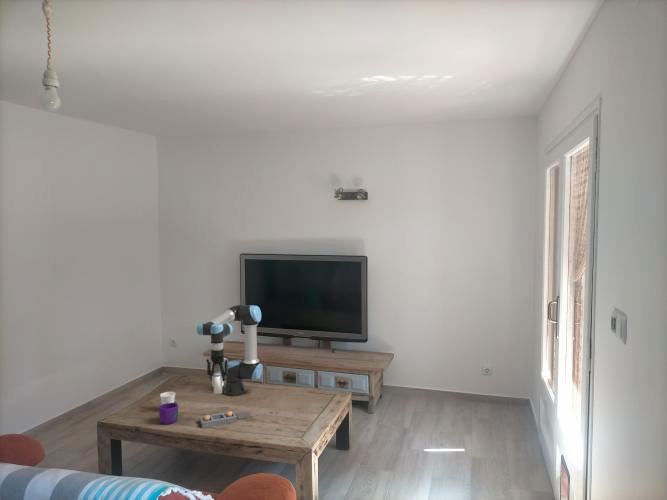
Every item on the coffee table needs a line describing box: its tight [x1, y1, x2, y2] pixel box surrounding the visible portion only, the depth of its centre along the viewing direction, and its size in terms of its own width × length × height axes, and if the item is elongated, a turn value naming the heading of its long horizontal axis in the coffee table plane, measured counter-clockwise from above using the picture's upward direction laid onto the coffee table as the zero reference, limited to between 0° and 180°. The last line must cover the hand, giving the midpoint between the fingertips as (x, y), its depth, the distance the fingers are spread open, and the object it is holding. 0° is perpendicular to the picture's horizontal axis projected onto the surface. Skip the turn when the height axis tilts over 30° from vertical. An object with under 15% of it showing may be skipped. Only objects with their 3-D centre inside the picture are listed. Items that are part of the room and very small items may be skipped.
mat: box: [234, 411, 254, 420], centre depth 311 cm, size 9×9×1 cm
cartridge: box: [213, 371, 223, 395], centre depth 301 cm, size 5×5×12 cm
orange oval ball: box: [225, 410, 233, 417], centre depth 305 cm, size 4×4×3 cm
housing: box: [198, 410, 238, 429], centre depth 302 cm, size 21×11×3 cm, turn 116°
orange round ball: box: [203, 414, 211, 421], centre depth 299 cm, size 4×4×3 cm
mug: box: [158, 401, 179, 425], centre depth 306 cm, size 17×11×10 cm, turn 171°
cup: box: [159, 391, 176, 405], centre depth 321 cm, size 10×10×11 cm
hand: (217, 385), depth 301 cm, fingers closed on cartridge, 5 cm apart
